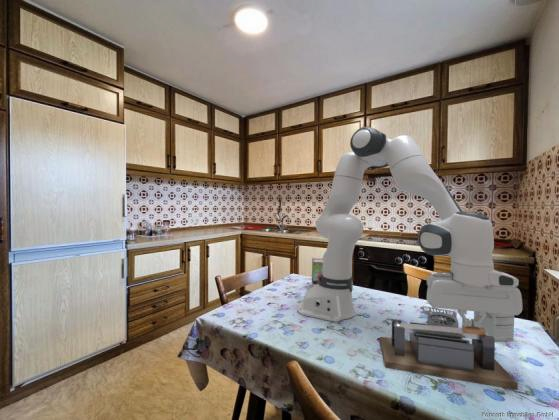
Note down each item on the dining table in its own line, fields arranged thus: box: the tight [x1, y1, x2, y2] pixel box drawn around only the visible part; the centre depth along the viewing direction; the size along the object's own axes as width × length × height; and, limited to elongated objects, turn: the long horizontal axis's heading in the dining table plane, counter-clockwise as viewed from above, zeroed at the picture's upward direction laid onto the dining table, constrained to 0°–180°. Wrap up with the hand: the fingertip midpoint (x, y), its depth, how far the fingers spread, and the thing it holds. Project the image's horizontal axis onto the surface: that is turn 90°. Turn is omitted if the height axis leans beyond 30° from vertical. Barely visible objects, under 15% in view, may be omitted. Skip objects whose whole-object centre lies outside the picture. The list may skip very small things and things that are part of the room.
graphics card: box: [419, 305, 460, 328], centre depth 88 cm, size 17×4×12 cm
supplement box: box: [473, 311, 515, 342], centre depth 81 cm, size 7×7×13 cm
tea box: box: [311, 257, 323, 288], centre depth 126 cm, size 15×10×15 cm
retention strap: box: [394, 322, 490, 340], centre depth 67 cm, size 22×3×2 cm, turn 74°
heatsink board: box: [379, 318, 519, 391], centre depth 67 cm, size 28×13×10 cm, turn 74°
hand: (471, 326), depth 65 cm, fingers closed
